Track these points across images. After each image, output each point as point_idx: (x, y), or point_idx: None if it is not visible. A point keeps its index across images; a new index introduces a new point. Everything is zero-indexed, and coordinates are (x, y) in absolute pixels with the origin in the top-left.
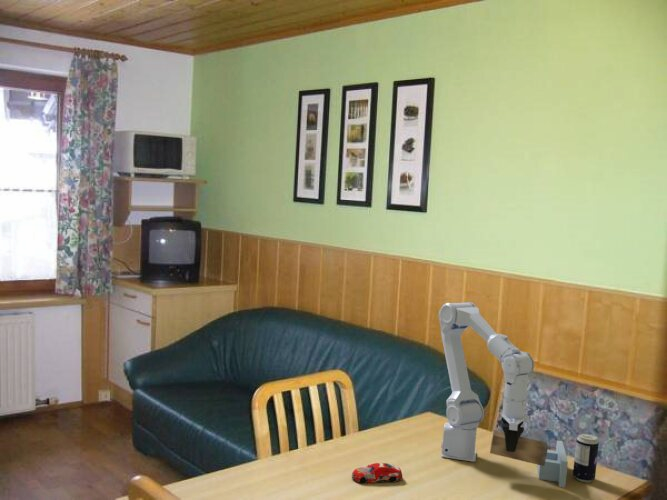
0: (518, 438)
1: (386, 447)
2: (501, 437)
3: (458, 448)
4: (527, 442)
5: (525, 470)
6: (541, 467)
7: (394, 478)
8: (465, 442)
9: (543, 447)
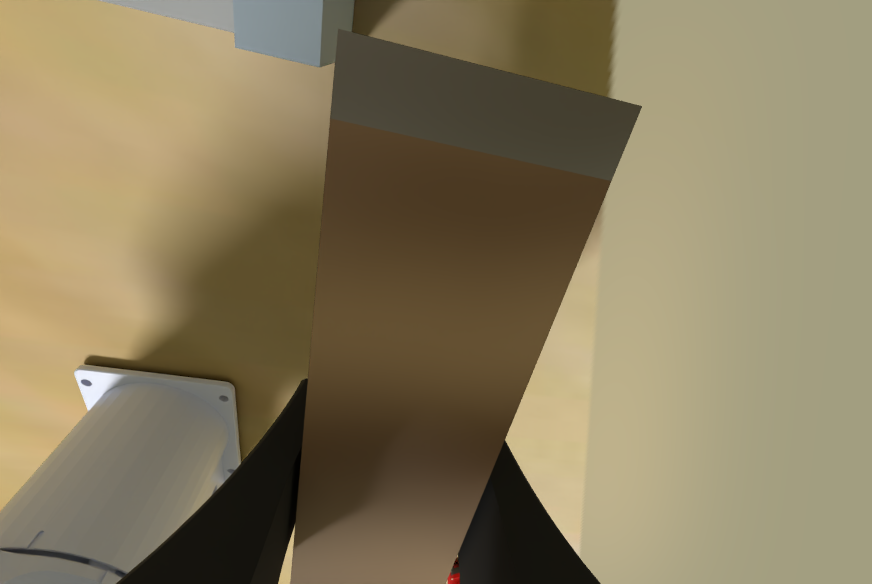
0: (569, 545)
1: None
2: (445, 581)
3: (208, 481)
4: (499, 396)
5: (215, 124)
6: (334, 47)
7: None
8: (188, 500)
9: (603, 185)
